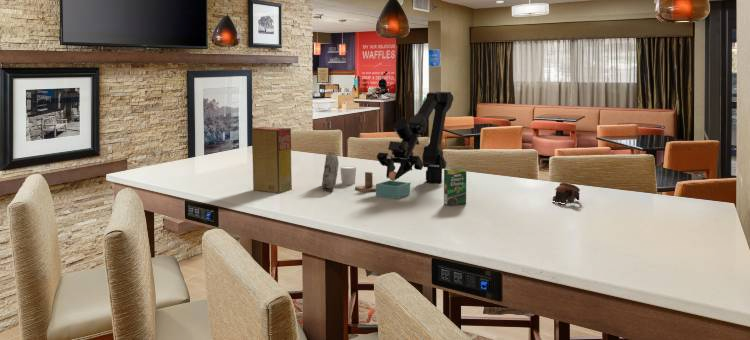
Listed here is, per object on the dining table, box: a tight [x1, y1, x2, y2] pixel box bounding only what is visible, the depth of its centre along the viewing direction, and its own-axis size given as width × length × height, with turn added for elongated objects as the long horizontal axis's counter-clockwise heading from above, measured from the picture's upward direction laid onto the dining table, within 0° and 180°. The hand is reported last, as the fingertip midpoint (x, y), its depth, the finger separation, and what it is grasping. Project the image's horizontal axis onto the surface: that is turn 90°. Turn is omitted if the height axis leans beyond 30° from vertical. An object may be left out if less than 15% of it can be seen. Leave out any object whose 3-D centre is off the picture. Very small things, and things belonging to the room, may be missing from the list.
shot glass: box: [339, 165, 357, 186], centre depth 245 cm, size 7×7×7 cm
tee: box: [354, 171, 376, 193], centre depth 232 cm, size 8×8×7 cm
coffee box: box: [443, 167, 467, 207], centre depth 206 cm, size 8×3×13 cm, turn 111°
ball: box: [388, 170, 397, 181], centre depth 221 cm, size 4×4×4 cm
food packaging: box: [251, 126, 293, 194], centre depth 230 cm, size 13×9×25 cm
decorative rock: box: [321, 151, 339, 190], centre depth 234 cm, size 16×7×15 cm, turn 0°
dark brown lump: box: [552, 182, 581, 204], centre depth 210 cm, size 12×10×8 cm
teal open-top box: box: [375, 179, 411, 200], centre depth 222 cm, size 10×10×4 cm
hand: (391, 178), depth 220 cm, fingers closed on ball, 3 cm apart
